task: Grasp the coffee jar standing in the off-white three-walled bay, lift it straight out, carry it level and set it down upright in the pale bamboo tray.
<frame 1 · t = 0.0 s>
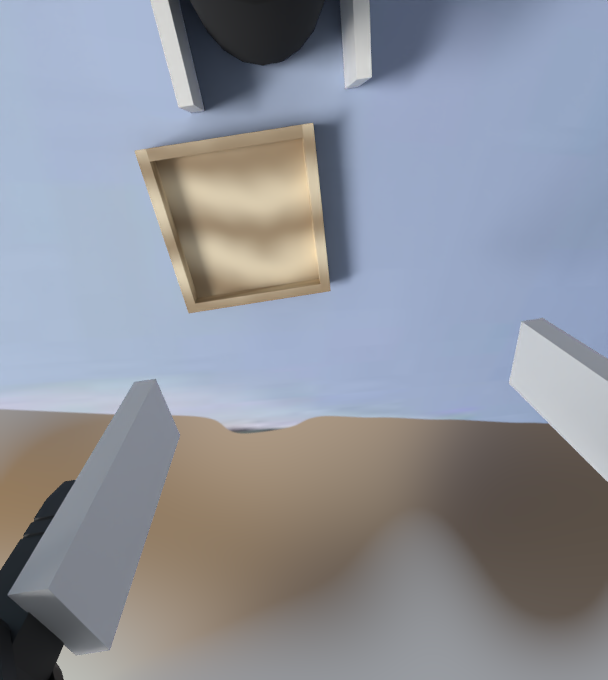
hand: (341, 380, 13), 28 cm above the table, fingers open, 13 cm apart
tray: (245, 224, 36), on the table
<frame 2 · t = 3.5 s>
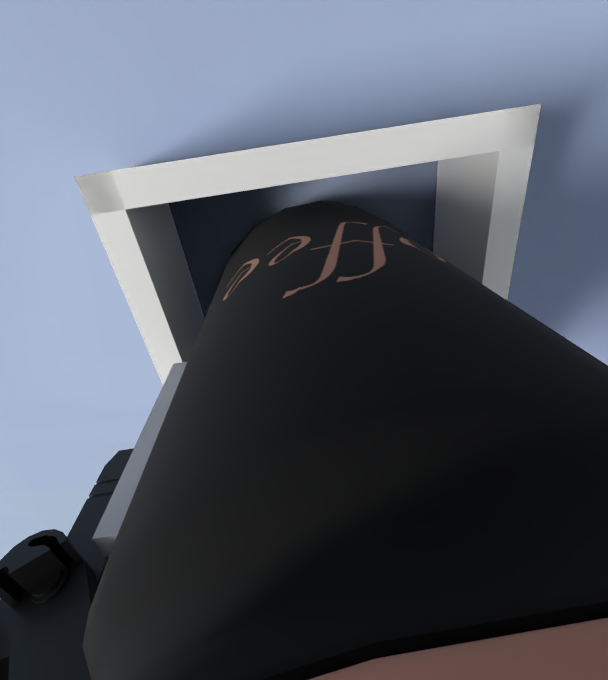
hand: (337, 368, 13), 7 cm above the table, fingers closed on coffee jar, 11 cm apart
coffee jar: (317, 297, 19), on the table, touching gripper
bay: (317, 298, 19), on the table
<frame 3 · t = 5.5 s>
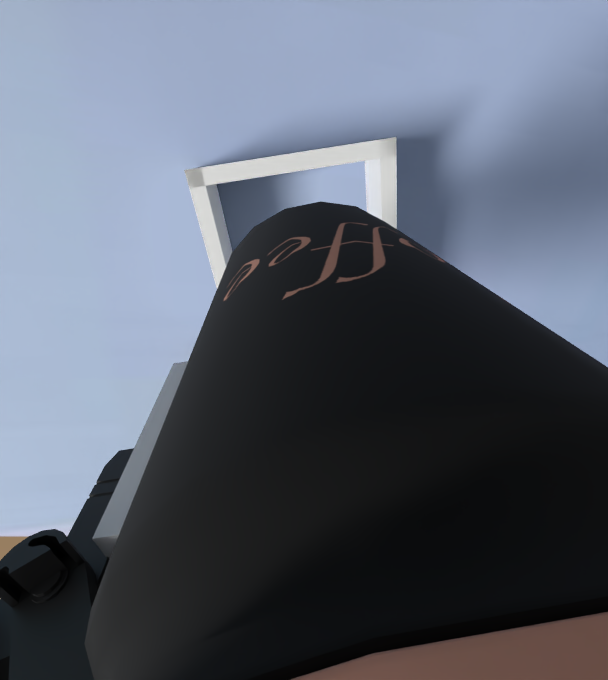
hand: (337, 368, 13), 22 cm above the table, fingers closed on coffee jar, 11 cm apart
coffee jar: (317, 298, 20), point 15 cm above the table, touching gripper
bay: (300, 244, 33), on the table
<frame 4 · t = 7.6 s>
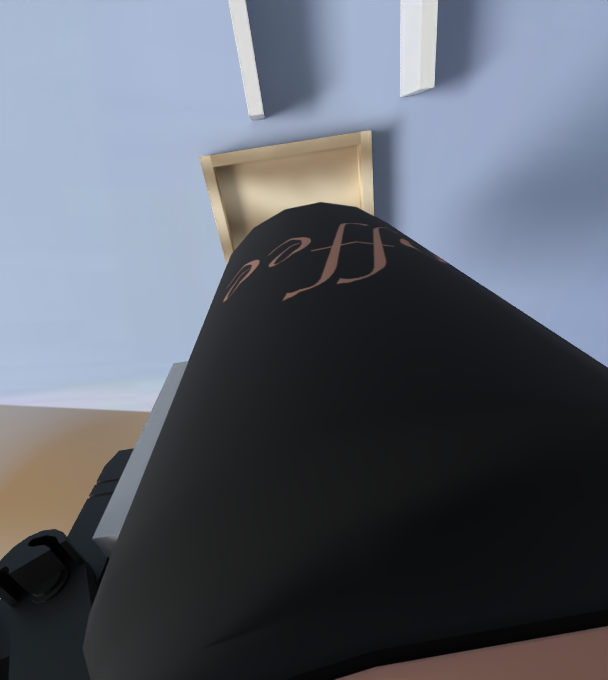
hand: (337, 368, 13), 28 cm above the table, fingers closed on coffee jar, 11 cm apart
coffee jar: (317, 298, 19), point 21 cm above the table, touching gripper
tray: (296, 227, 37), on the table
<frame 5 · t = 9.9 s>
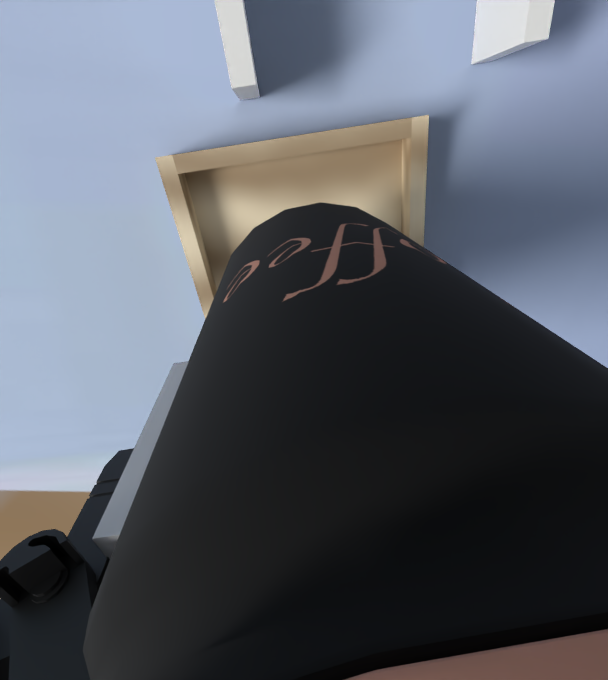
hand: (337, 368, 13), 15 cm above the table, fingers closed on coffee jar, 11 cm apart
coffee jar: (317, 298, 19), point 7 cm above the table, touching gripper
tray: (306, 259, 26), on the table
when the fingers open (9 cm above the table, at t = 11.7 s): coffee jar drops 1 cm, resting on tray.
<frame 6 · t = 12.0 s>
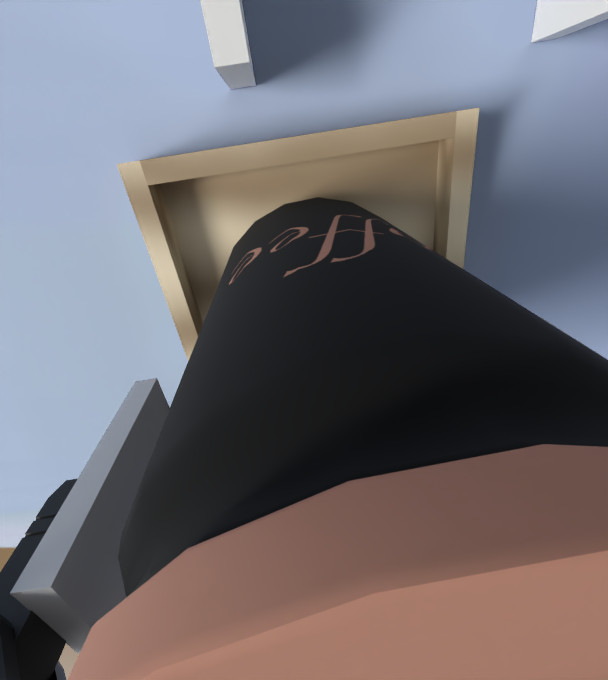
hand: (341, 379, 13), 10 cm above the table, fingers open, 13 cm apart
coffee jar: (315, 290, 20), point 1 cm above the table, touching tray
tray: (314, 287, 21), on the table
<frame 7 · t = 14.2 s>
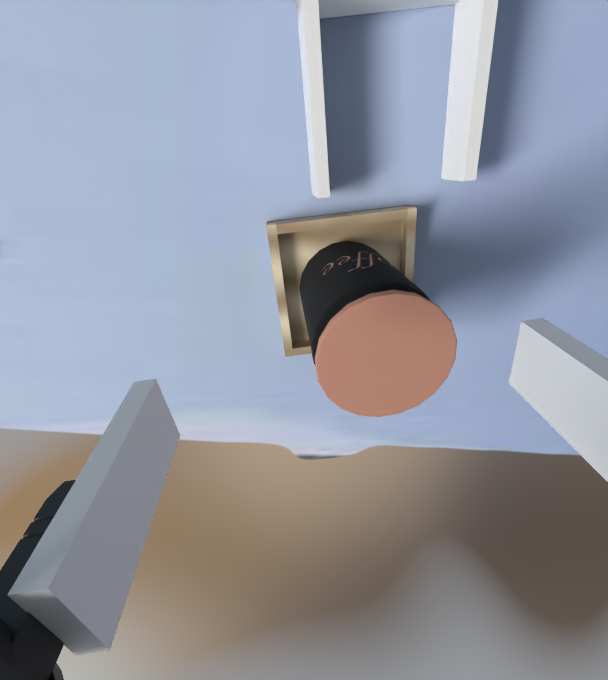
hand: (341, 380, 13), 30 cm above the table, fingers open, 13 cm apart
coffee jar: (342, 283, 41), point 1 cm above the table, touching tray
bay: (383, 100, 34), on the table
tray: (341, 282, 42), on the table
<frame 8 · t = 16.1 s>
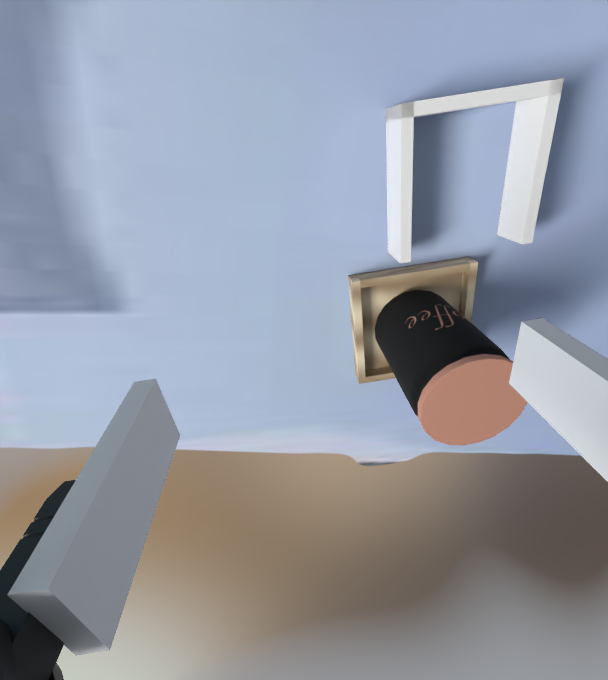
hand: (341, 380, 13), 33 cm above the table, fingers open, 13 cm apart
coffee jar: (408, 321, 48), point 1 cm above the table, touching tray
bay: (451, 177, 40), on the table
tray: (407, 320, 49), on the table
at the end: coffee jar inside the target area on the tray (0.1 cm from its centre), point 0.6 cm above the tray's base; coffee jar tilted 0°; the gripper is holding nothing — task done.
